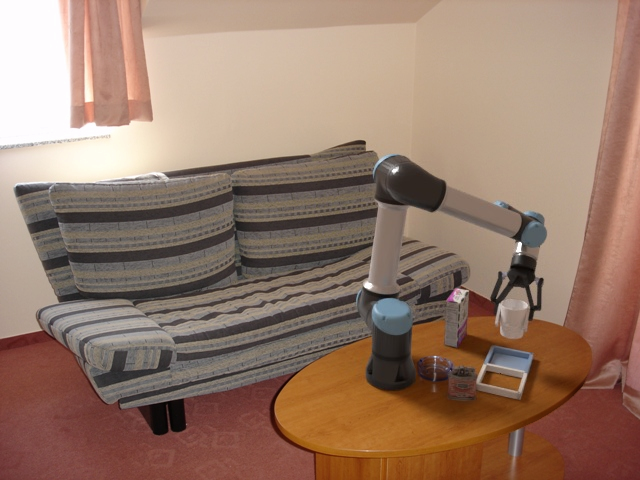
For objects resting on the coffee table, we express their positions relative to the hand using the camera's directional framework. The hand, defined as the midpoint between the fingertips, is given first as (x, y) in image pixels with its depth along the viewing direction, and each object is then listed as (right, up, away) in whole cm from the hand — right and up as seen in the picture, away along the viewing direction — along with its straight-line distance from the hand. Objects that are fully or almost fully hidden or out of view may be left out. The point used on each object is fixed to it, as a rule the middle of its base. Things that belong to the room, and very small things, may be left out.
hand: (510, 327), depth 192 cm
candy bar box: (-11, -8, +24) cm, 28 cm away
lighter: (-16, -19, -8) cm, 26 cm away
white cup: (+2, -3, +4) cm, 5 cm away
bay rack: (-1, -15, +4) cm, 15 cm away
